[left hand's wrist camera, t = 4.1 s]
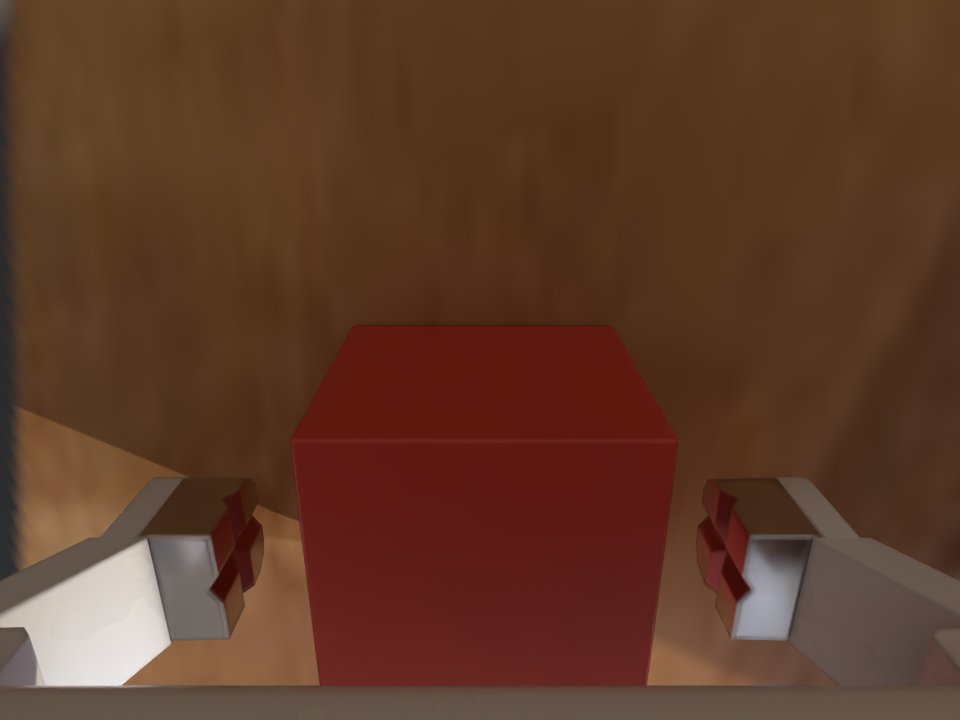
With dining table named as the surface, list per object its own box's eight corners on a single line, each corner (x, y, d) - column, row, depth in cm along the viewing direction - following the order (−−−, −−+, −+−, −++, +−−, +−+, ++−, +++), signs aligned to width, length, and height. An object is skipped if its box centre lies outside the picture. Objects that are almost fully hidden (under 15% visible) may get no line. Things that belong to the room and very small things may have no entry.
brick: (352, 325, 12) (286, 440, 8) (613, 324, 12) (680, 439, 8) (369, 553, 14) (325, 739, 10) (594, 554, 14) (641, 740, 10)
